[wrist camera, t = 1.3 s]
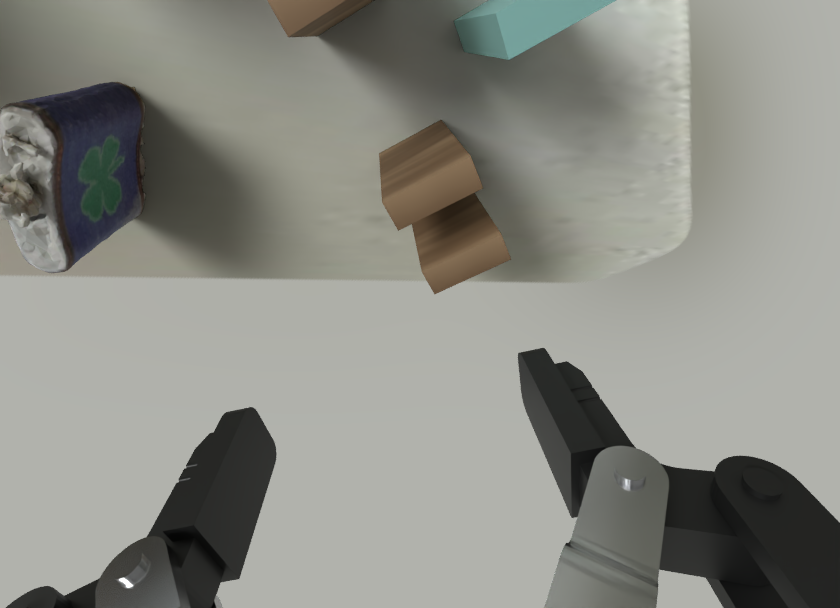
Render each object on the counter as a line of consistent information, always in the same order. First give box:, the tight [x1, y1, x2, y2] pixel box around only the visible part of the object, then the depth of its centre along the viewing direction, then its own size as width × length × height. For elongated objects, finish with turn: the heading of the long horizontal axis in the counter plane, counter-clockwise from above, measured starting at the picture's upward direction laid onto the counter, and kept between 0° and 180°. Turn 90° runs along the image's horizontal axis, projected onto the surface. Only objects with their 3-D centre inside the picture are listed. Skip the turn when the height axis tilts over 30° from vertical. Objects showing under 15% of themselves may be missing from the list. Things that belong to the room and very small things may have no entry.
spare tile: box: [454, 0, 616, 60], centre depth 20 cm, size 2×5×10 cm, turn 116°
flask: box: [0, 82, 146, 273], centre depth 22 cm, size 9×3×11 cm, turn 158°
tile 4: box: [379, 120, 483, 231], centre depth 24 cm, size 2×5×10 cm, turn 116°
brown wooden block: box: [412, 193, 511, 294], centre depth 27 cm, size 2×5×10 cm, turn 116°
